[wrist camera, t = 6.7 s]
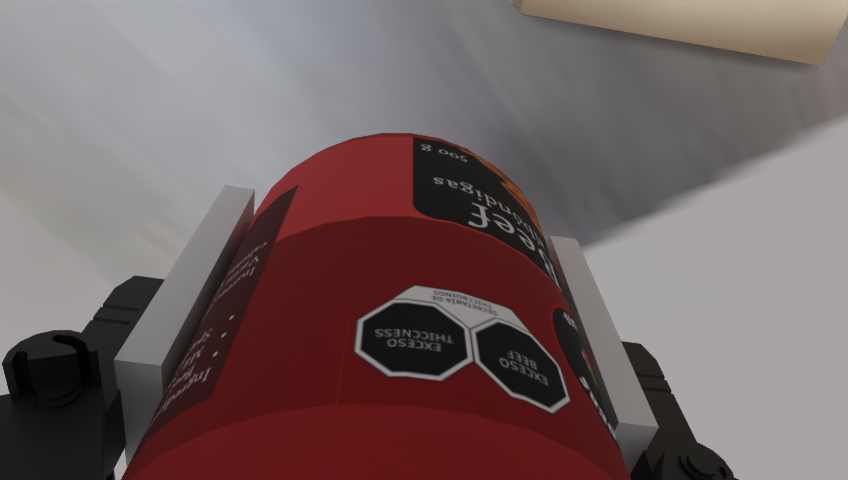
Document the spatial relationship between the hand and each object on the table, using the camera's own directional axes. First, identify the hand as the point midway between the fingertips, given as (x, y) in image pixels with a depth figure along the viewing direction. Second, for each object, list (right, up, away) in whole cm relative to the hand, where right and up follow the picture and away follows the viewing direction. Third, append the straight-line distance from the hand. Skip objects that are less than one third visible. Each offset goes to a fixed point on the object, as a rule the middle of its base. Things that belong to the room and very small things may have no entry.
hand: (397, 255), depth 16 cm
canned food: (0, 0, 0) cm, 1 cm away
